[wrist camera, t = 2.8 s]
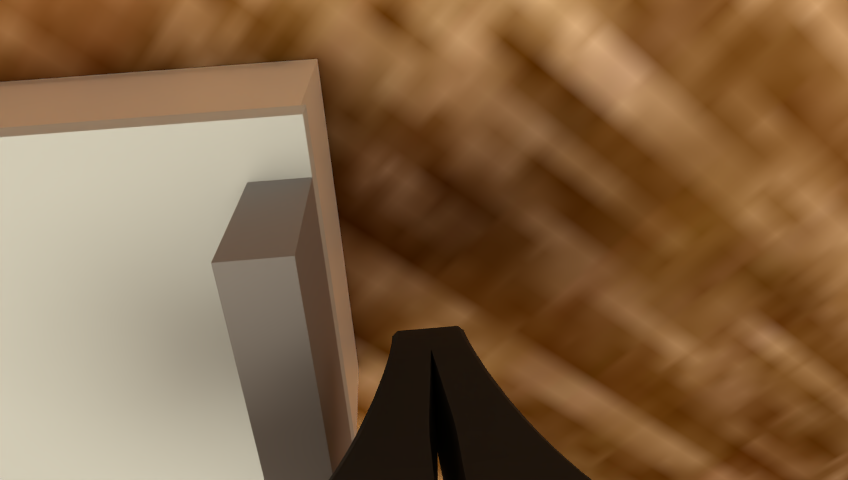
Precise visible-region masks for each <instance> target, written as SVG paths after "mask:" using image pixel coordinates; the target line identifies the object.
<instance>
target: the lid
mask: <svg viewBox="0 0 848 480" xmlns="http://www.w3.org/2000/svg"><path fill="white" fill-rule="evenodd" d="M354 438H355V436H354V430H353V423H352V416H351V409H350V402H349V395H348V389H347V382H346V375H345V368H344V361H343V354H342V348H341V341H340V334H339V327H338V320H337V313H336V307H335V300H334V293H333V286H332V279H331V272H330V266H329V259H328V252H327V245H326V238H325V231H324V225H323V218H322V211H321V204H320V197H319V190H318V184H317V177H316V170H315V163H314V156H313V149H312V143H311V136H310V129H309V122H308V115H307V108H306V105H297V106H283V107H270V108H257V109H244V110H230V111H217V112H204V113H190V114H177V115H164V116H151V117H137V118H124V119H111V120H97V121H84V122H71V123H58V124H44V125H31V126H18V127H4V128H0V480H329V479H330V477H331V476H332V474H333V473H334V471H335V470H336V468H337V467H338V465H339V463H340V462H341V460H342V459H343V457H344V455H345V454H346V452H347V450H348V449H349V447H350V445H351V443H352V441H353V440H354Z"/></svg>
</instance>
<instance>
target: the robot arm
mask: <svg viewBox="0 0 848 480" xmlns="http://www.w3.org/2000/svg"><path fill="white" fill-rule="evenodd" d="M437 452H438V455H437ZM438 457H439V461H440V466H441V471H442V476H443V480H591V479H590V478H589V477H588V476H586V475H585V474H584V473H582V472H581V471H580V470H579V469H577V468H576V467H575V466H574V465H573V464H572V463H571V462H570V461H568V460H567V459H566V458H565V457H564V456H563V455H562V454H560V453H559V452H558V451H557V450H556V449H555V448H554V447H553V446H552V445H551V444H550V443H549V442H548V441H547V440H546V439H545V438H544V437H543V436H542V435H541V434H540V433H539V432H538V431H537V430H536V429H535V428H534V427H533V426H532V425H531V424H530V423H529V422H528V421H527V419H526V418H525V417H524V416H523V415H522V414H521V413H520V411H519V410H518V409H517V408H516V407H515V406H514V405H513V403H512V402H511V401H510V400H509V398H508V397H507V396H506V395H505V393H504V392H503V391H502V390H501V388H500V387H499V386H498V384H497V383H496V382H495V380H494V379H493V378H492V376H491V375H490V374H489V372H488V371H487V369H486V368H485V366H484V365H483V363H482V362H481V360H480V359H479V357H478V356H477V354H476V353H475V351H474V349H473V348H472V346H471V344H470V342H469V341H468V339H467V337H466V335H465V333H464V330H462V329H461V328H460V327H459V326H452V327H440V328H429V329H417V330H405V331H397V332H396V333H395V334H394V335H393V336H392V345H391V350H390V354H389V358H388V361H387V364H386V367H385V370H384V374H383V376H382V379H381V381H380V384H379V386H378V389H377V391H376V394H375V397H374V399H373V401H372V404H371V406H370V408H369V410H368V412H367V414H366V416H365V418H364V420H363V422H362V424H361V426H360V428H359V430H358V432H357V434H356V436H355V438H354V440H353V441H352V443H351V445H350V447H349V449H348V450H347V452H346V454H345V455H344V457H343V459H342V460H341V462H340V463H339V465H338V467H337V468H336V470H335V471H334V473H333V474H332V476H331V477H330V479H329V480H438Z"/></svg>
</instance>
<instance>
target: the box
mask: <svg viewBox="0 0 848 480" xmlns="http://www.w3.org/2000/svg"><path fill="white" fill-rule="evenodd" d="M297 105H306V108H307V115H308V122H309V129H310V136H311V143H312V149H313V156H314V163H315V170H316V177H317V184H318V190H319V197H320V204H321V211H322V218H323V225H324V231H325V238H326V245H327V252H328V259H329V266H330V272H331V279H332V286H333V293H334V300H335V307H336V313H337V320H338V327H339V334H340V341H341V348H342V354H343V361H344V368H345V375H346V382H347V389H348V395H349V402H350V409H351V416H352V423H353V430H354V436H356V434H357V405H358V376H359V367H358V360H357V352H356V345H355V337H354V330H353V322H352V315H351V307H350V300H349V292H348V285H347V277H346V270H345V262H344V255H343V247H342V240H341V232H340V225H339V217H338V210H337V202H336V195H335V187H334V180H333V172H332V165H331V157H330V150H329V142H328V135H327V127H326V120H325V112H324V105H323V97H322V90H321V82H320V75H319V67H318V60H317V59H307V60H293V61H280V62H266V63H252V64H239V65H225V66H211V67H198V68H184V69H170V70H157V71H143V72H129V73H115V74H102V75H88V76H74V77H61V78H47V79H33V80H20V81H6V82H0V128H4V127H18V126H31V125H44V124H58V123H71V122H84V121H97V120H111V119H124V118H137V117H151V116H164V115H177V114H190V113H204V112H217V111H230V110H244V109H257V108H270V107H283V106H297Z"/></svg>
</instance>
